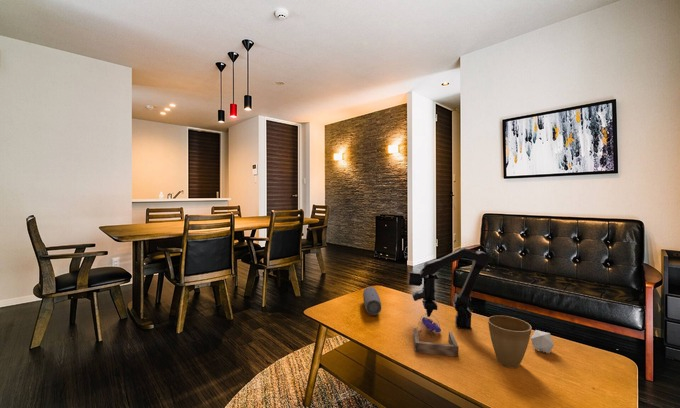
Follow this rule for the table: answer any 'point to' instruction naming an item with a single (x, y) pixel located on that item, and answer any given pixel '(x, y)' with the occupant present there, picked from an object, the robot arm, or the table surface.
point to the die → (542, 341)
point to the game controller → (430, 325)
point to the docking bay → (436, 346)
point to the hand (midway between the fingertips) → (428, 316)
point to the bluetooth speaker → (371, 301)
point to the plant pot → (509, 339)
